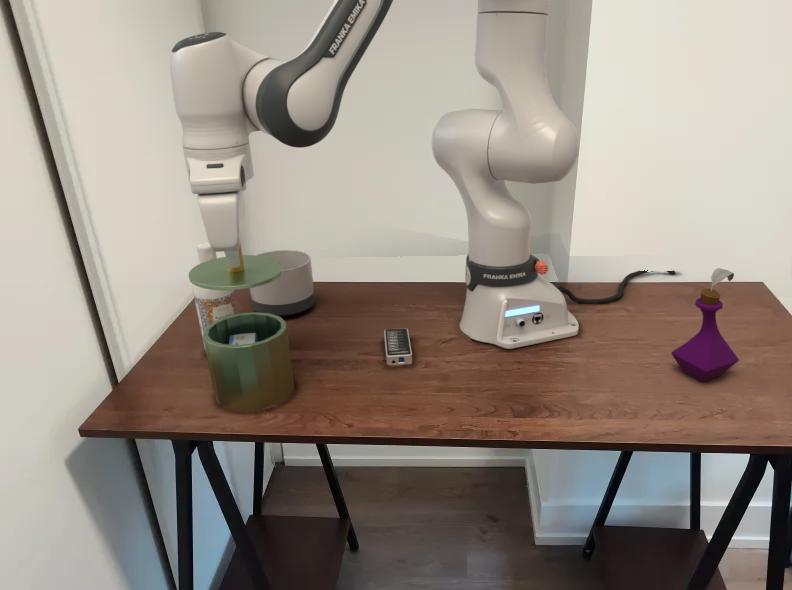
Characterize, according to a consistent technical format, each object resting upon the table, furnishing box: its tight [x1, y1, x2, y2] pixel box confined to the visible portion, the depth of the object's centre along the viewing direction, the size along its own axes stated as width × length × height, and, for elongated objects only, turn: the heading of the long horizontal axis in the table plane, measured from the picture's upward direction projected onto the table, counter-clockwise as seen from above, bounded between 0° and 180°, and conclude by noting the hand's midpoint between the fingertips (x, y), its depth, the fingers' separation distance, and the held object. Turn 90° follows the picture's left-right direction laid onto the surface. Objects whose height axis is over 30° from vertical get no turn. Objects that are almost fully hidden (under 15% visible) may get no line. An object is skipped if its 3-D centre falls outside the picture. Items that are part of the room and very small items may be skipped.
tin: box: [202, 311, 295, 411], centre depth 109 cm, size 13×13×12 cm
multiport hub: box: [383, 327, 413, 366], centre depth 122 cm, size 4×11×2 cm, turn 5°
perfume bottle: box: [670, 267, 740, 383], centre depth 109 cm, size 8×8×18 cm
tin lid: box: [188, 240, 283, 291], centre depth 101 cm, size 14×14×6 cm
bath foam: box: [192, 242, 239, 353], centre depth 121 cm, size 7×7×20 cm
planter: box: [249, 249, 316, 318], centre depth 139 cm, size 13×13×10 cm
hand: (235, 261), depth 101 cm, fingers closed on tin lid, 2 cm apart
